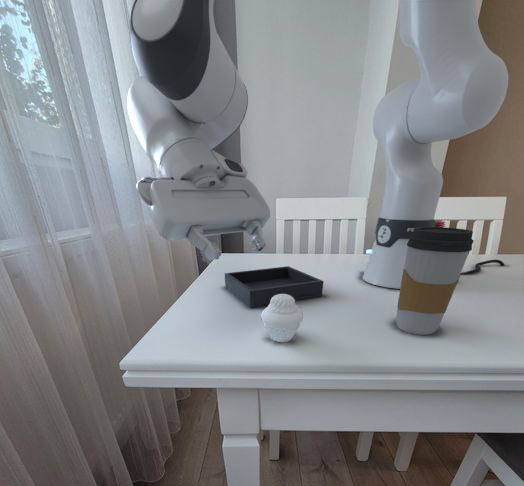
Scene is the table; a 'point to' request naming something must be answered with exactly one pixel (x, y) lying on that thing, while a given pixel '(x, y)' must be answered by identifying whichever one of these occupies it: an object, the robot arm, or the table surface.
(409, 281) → the coffee cup
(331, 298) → the table surface
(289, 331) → the muffin
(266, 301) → the tray
